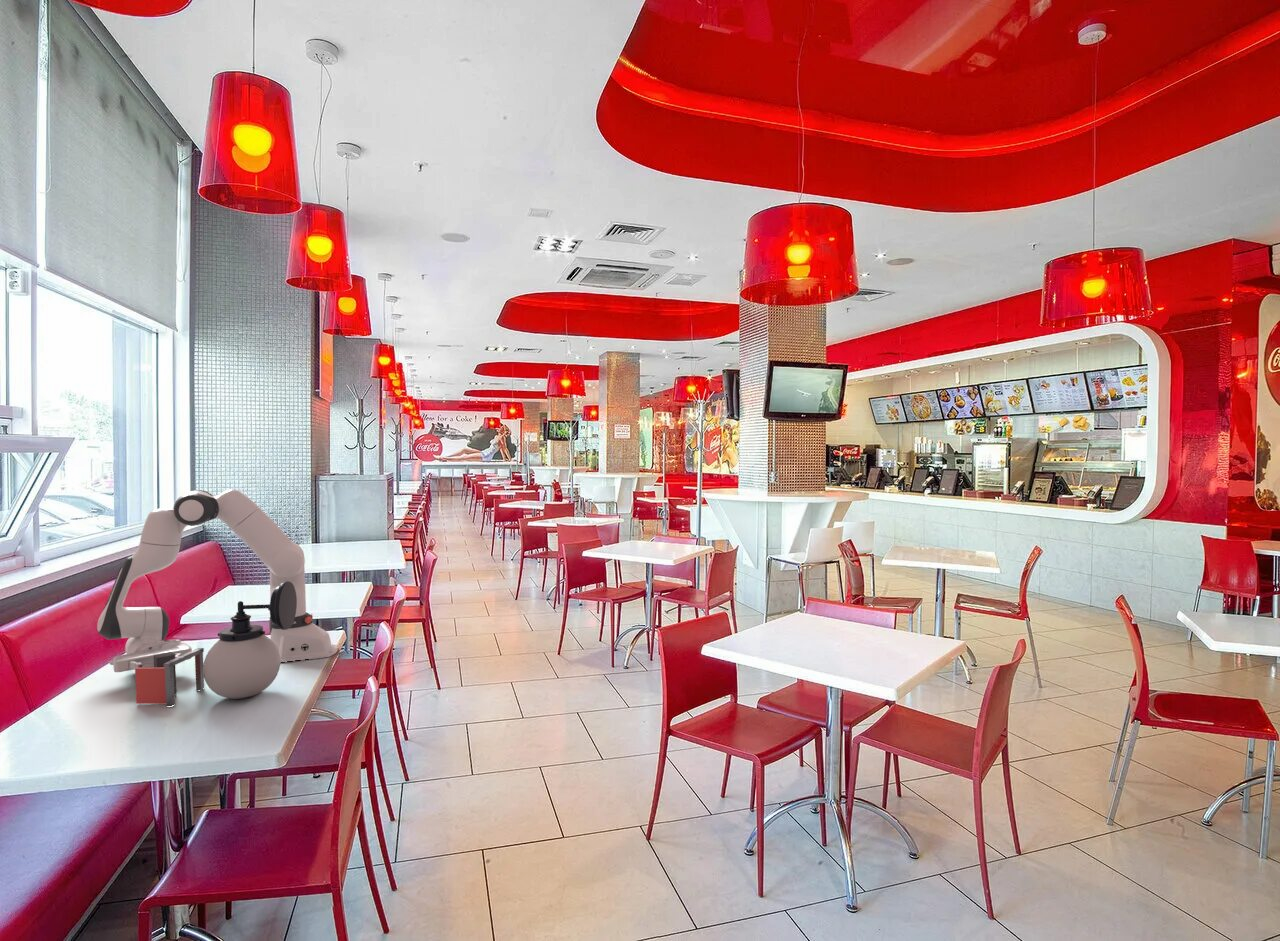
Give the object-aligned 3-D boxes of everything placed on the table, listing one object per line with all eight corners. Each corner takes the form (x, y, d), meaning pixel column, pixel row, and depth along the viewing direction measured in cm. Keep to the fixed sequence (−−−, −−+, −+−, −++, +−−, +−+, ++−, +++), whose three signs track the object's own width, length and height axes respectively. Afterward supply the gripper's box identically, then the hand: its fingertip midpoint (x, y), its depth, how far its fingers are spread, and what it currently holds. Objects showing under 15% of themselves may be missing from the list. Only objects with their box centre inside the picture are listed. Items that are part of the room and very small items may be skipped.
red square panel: (173, 702, 205) (172, 667, 205) (171, 703, 204) (170, 668, 204) (138, 702, 205) (137, 667, 205) (136, 703, 204) (135, 668, 204)
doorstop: (172, 691, 216) (171, 651, 215) (176, 695, 212) (174, 654, 212) (155, 695, 213) (153, 654, 212) (158, 699, 209) (156, 657, 209)
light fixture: (223, 686, 219) (220, 577, 218) (303, 683, 221) (299, 575, 220) (190, 710, 200) (186, 591, 198) (277, 706, 202) (273, 588, 201)
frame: (170, 707, 202) (168, 663, 201) (165, 707, 202) (163, 663, 201) (205, 689, 217) (203, 647, 217) (200, 689, 217) (198, 647, 217)
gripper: (107, 651, 221) (115, 660, 211) (185, 638, 235) (196, 646, 225) (108, 671, 221) (116, 681, 211) (185, 657, 235) (196, 666, 225)
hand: (158, 663), depth 218 cm, fingers open, 8 cm apart
